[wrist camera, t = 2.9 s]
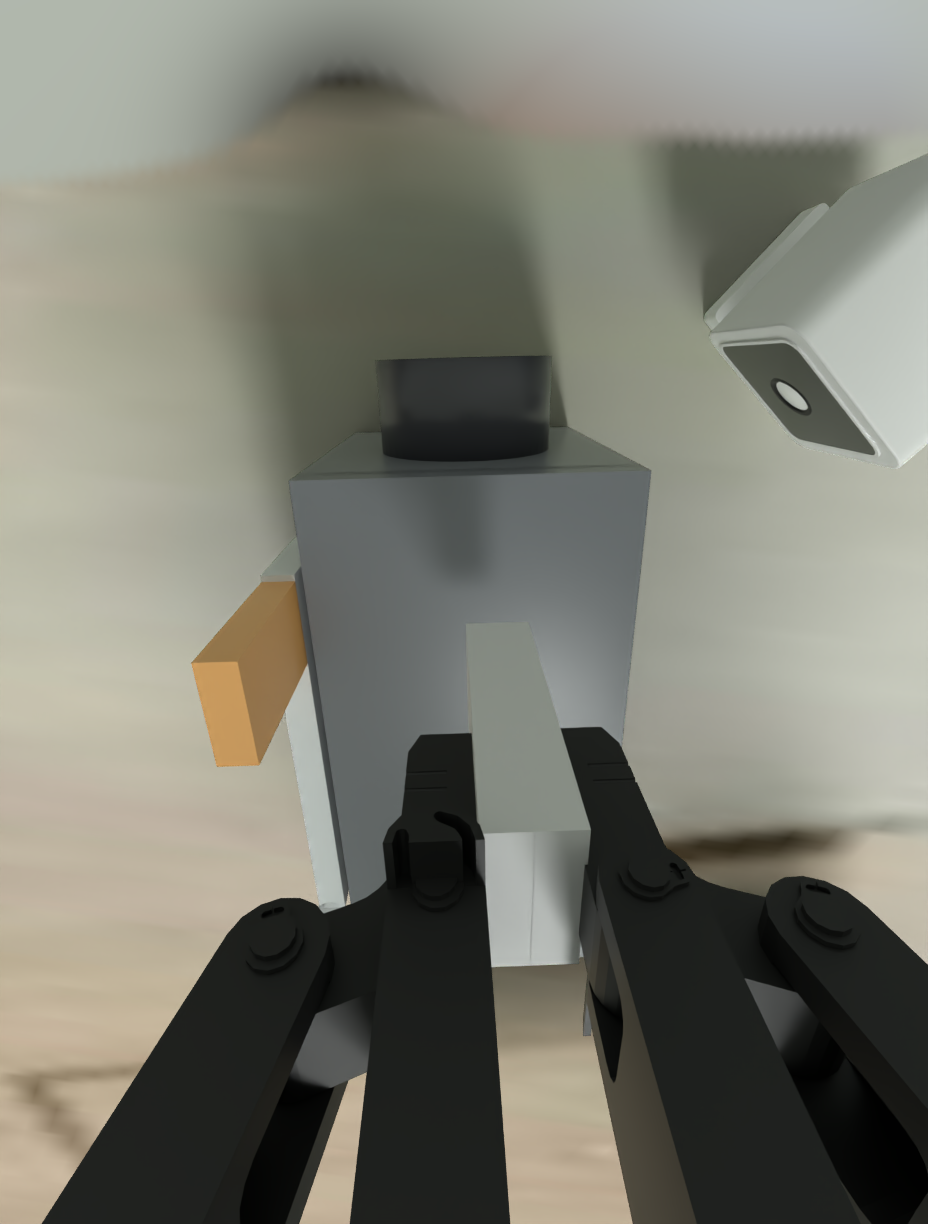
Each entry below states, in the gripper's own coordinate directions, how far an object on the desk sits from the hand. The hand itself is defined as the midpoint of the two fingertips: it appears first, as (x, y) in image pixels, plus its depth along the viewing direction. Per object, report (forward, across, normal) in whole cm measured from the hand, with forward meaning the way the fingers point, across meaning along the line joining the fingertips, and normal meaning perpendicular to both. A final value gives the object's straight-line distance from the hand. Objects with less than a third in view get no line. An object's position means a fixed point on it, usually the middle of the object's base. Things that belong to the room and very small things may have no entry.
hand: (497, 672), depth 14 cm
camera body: (+16, 0, +5) cm, 16 cm away
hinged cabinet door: (+15, +6, +6) cm, 17 cm away
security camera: (+16, -14, -8) cm, 22 cm away
